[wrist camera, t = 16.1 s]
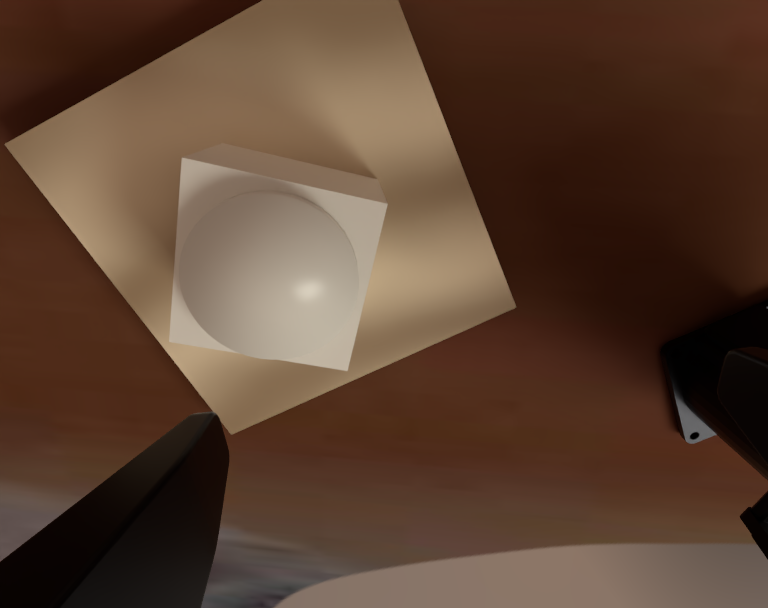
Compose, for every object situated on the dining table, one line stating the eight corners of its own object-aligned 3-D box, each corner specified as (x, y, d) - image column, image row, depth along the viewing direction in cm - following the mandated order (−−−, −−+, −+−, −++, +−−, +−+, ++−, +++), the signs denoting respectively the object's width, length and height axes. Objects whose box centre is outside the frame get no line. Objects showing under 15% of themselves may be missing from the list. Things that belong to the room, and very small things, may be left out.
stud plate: (508, 298, 21) (543, 340, 17) (236, 420, 22) (214, 483, 19) (372, -53, 15) (380, -100, 12) (23, 141, 17) (-68, 153, 13)
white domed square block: (222, 143, 16) (174, 160, 12) (377, 179, 17) (389, 208, 13) (208, 288, 18) (161, 351, 14) (346, 313, 19) (347, 381, 15)
